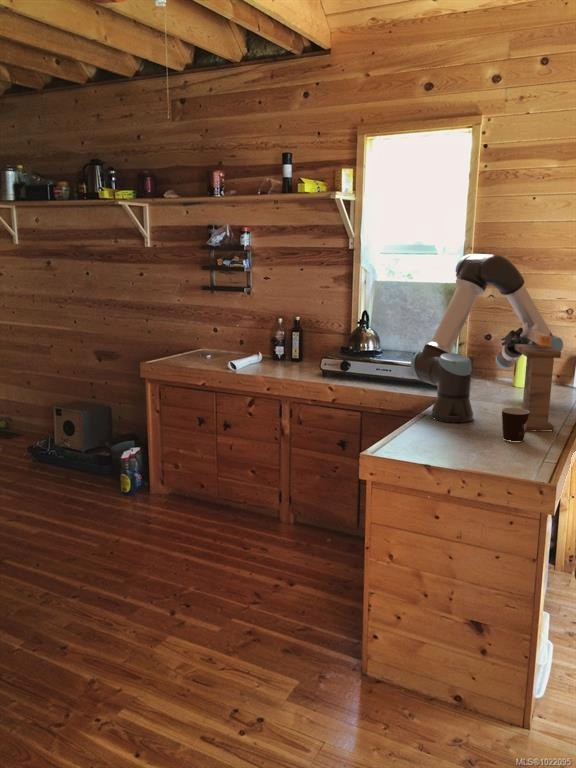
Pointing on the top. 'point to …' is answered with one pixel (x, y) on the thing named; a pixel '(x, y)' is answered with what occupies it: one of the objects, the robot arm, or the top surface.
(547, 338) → the clear orange-capped tube
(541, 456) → the top surface
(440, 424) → the top surface
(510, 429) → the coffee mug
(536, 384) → the shelf post
